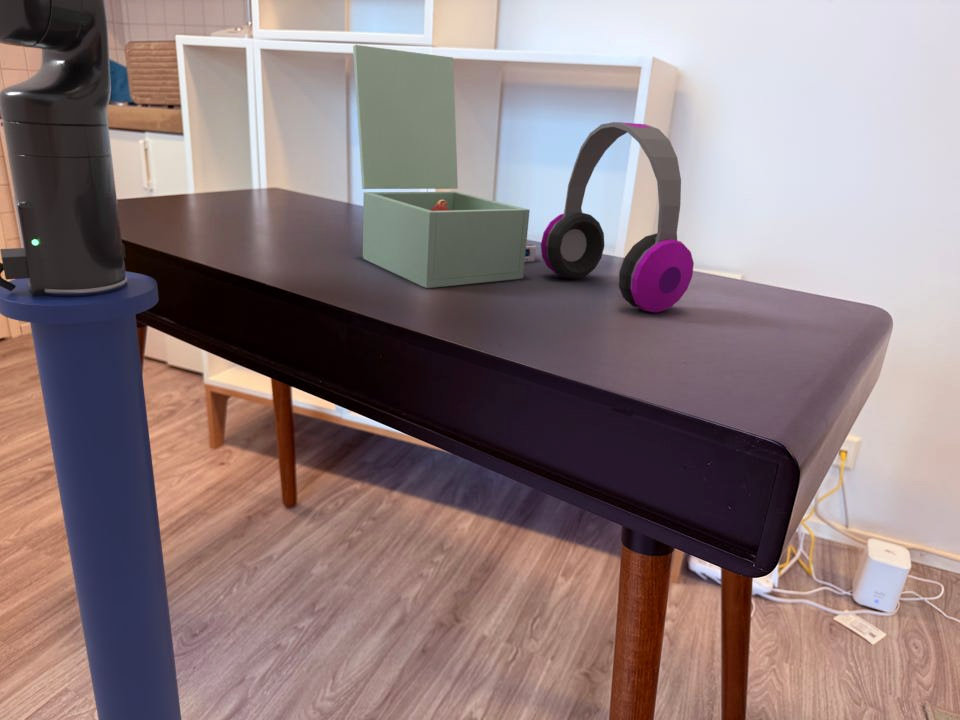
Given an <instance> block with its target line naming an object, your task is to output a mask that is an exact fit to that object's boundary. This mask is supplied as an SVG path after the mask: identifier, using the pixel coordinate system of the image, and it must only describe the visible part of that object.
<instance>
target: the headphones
mask: <svg viewBox="0 0 960 720" xmlns="http://www.w3.org/2000/svg"><path fill="white" fill-rule="evenodd" d="M627 133H628V134H629V136H631V138H633V139H634V140H635V141H636V142H637V143H638V144H639V146H640V147H641V149H642V150H643V153H644V154H645V155H646V157H647V159H648V161H649V164H650V166H651V168H652V171H653V174H654V177H655V179H656V183H657V185H656V186H657V198H658V217H657V232H656V233H653V234H649V235H645V236H644V237H643V238H642V239H640V240H639V241H637V242H636V243H635V244H633V246H632V247H631V248H630V249H629V251H628V252H627V254H626V255H625V256H624V258H623V261H622V264H621V266H620V269H619V272H618V273H619V275H618V276H619V277H618V278H619V279H618V287H619V291H620V293H621V296H622V298H623V299H624V301H626V302H627V303H628V304H630V305H631V306H632V307H635V308H640V309H641V311H644V312H651V313H660V312H663V311H666V310H669V309H670V308H671V307H673V306H674V305H675V304H677V303H678V302H679V301H680V300H681V298H682V297H683V296H684V294H685V293H686V292H687V291H688V288H689V286H690V284H691V282H692V279H693V274H694V265H695V263H694V259H693V255H692V251H691V250H690V249H689V248H688V247H687V246H686V245H685V244H684V243H683V241H680V240H678V228H679V227H678V226H679V219H680V212H681V200H682V199H681V197H682V195H681V194H682V177H681V171H680V166H679V165H680V164H679V160H678V156H677V153H676V151H675V149H674V147H673V145H672V142H671V140H670V139H669V138H668V137H667V136H666V135H665V134H664V132H663V131H661V130H660V128H659V127H655V126H651V125H649V124H646V123H633V122H623V121H622V122H619V121H612V122H608V123H607V122H606V123H602V124H600V125H598V126H597V127H596V128H594V129H593V130H592V131H591V132H589V134H588V135H587V137H586V138H585V140H584V142H583V143H582V145H581V146H580V148H579V150H578V151H579V152H578V154H577V157H576V159H575V162H574V165H573V168H572V171H571V174H570V177H569V181H568V184H567V190H566V197H565V203H564V210H563V213H561V214H559V215H557V216H555V217H554V218H553V219H552V220H551V221H549V223H548V224H547V226H546V228H545V229H544V231H543V233H542V238H541V242H540V251H541V258H542V260H543V262H544V263H545V266H546V267H547V268H548V269H549V270H550V271H551V272H553V273H554V274H555V275H559V276H560V277H562V278H565V279H570V280H577V279H583V278H584V277H587V276H588V275H589V274H591V273H592V272H593V271H594V270H595V269H596V268H597V266H598V264H599V263H600V262H601V260H602V259H603V258H602V257H603V253H604V249H605V232H604V230H603V228H602V226H601V223H600V222H599V221H598V220H597V219H596V218H595V217H594V216H593V215H592V214H590V213H585V212H583V210H582V207H583V202H584V199H585V193H586V189H587V185H588V184H589V181H590V179H591V177H592V174H593V172H594V170H595V168H596V167H597V165H598V163H599V162H600V161H601V159H602V157H603V156H604V154H605V153H606V151H607V150H608V149H609V148H610V147H611V146H612V145H613V144H614V143H615V142H616V141H617V139H619V138H620V137H623V136H624V135H625V134H627Z"/></svg>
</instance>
